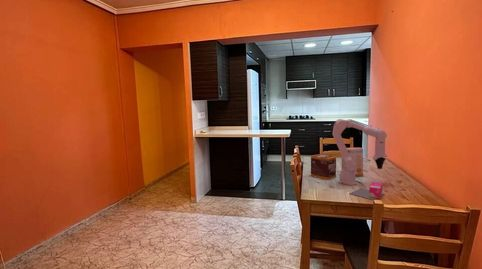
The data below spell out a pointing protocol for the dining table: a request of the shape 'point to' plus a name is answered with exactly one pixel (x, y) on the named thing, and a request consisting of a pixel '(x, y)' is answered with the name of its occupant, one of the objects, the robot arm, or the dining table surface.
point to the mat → (363, 194)
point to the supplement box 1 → (323, 166)
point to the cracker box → (356, 160)
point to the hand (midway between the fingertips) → (379, 168)
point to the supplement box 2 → (375, 190)
